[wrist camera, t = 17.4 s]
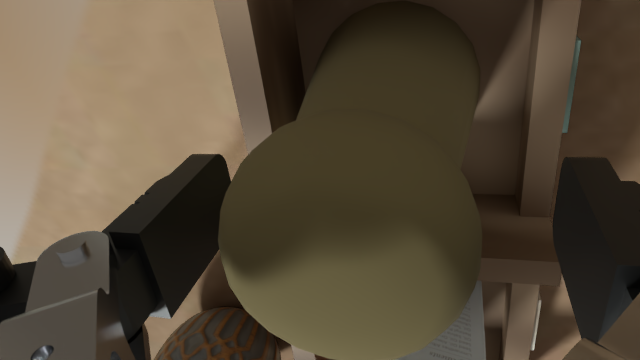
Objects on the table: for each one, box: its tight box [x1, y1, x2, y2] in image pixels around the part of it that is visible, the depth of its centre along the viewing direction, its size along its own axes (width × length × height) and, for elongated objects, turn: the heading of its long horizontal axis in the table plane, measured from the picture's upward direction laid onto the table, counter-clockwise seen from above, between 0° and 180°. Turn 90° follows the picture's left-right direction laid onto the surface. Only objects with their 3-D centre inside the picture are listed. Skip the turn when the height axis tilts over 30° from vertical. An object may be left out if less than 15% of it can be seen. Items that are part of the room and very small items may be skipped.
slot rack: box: [214, 0, 581, 360], centre depth 18 cm, size 22×10×5 cm, turn 7°
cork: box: [218, 1, 482, 360], centre depth 12 cm, size 6×6×11 cm
